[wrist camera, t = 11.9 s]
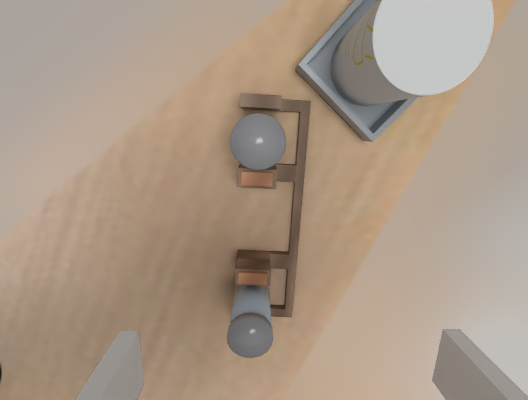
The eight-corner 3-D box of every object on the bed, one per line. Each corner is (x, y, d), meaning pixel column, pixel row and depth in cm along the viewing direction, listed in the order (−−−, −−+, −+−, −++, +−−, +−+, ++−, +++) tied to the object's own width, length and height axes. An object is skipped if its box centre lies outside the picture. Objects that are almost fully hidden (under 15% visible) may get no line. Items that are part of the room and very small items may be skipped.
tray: (363, 140, 33) (372, 141, 31) (295, 69, 31) (298, 64, 29) (439, 64, 31) (456, 58, 29) (371, -17, 29) (383, -32, 27)
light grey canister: (370, 5, 29) (442, -72, 18) (421, 63, 31) (517, 27, 19) (315, 68, 31) (347, 35, 19) (365, 121, 32) (424, 119, 21)
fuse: (235, 299, 39) (226, 357, 29) (235, 268, 38) (227, 318, 28) (268, 300, 39) (271, 358, 29) (270, 269, 38) (274, 319, 28)
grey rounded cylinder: (239, 155, 34) (230, 168, 24) (240, 115, 33) (231, 111, 23) (277, 157, 34) (284, 171, 24) (280, 117, 33) (287, 114, 23)
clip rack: (236, 311, 39) (233, 339, 34) (243, 98, 32) (239, 93, 27) (291, 313, 39) (295, 341, 34) (309, 101, 32) (318, 97, 27)
